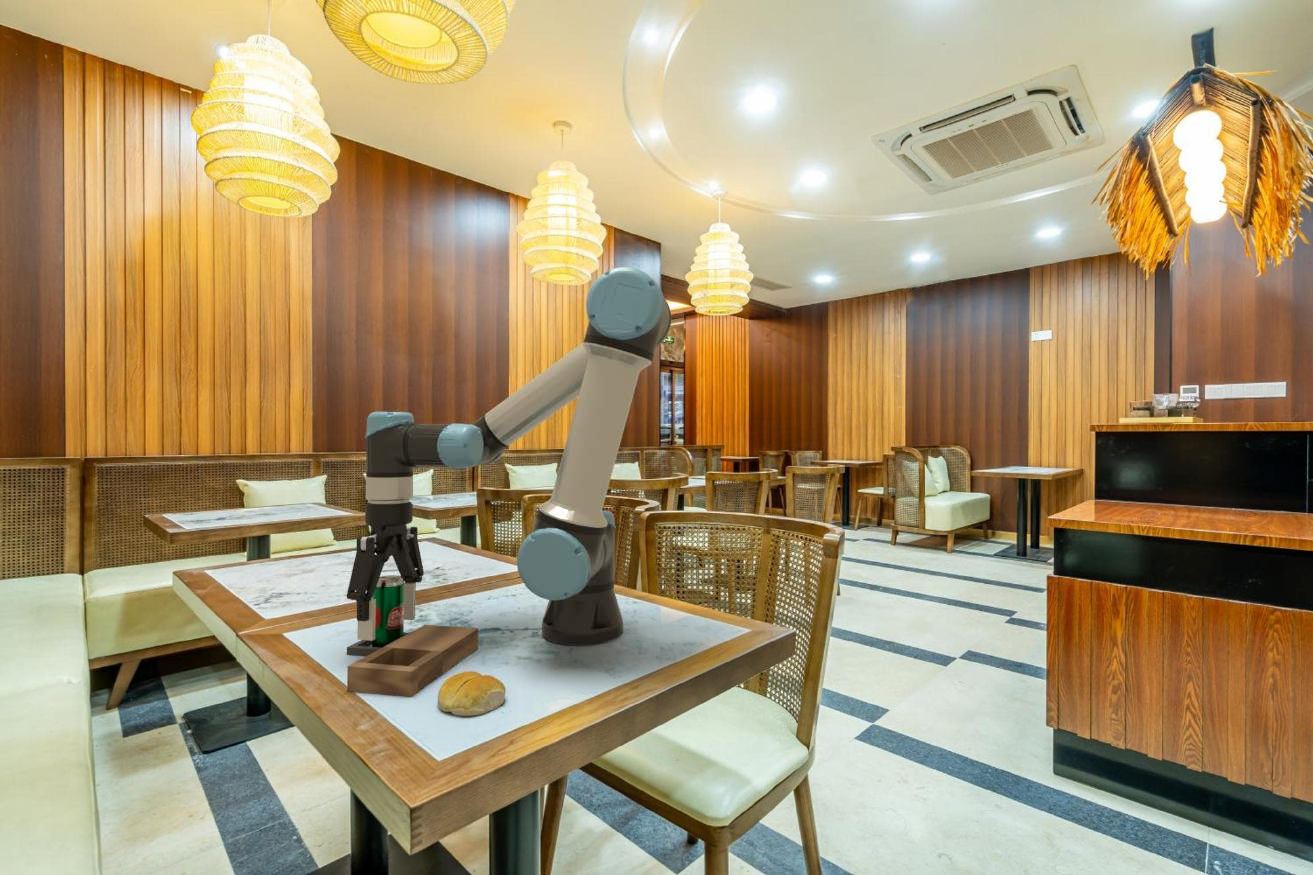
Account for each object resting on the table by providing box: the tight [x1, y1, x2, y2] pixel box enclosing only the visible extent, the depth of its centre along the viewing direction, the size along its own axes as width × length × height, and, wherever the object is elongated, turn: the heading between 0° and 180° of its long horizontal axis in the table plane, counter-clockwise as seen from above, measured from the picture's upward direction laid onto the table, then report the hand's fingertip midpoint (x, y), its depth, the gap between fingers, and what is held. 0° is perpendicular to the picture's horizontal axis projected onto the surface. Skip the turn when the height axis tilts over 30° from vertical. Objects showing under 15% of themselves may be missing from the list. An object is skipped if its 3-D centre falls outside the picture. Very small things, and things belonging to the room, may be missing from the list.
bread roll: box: [437, 670, 507, 717], centre depth 83 cm, size 8×9×4 cm
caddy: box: [346, 624, 479, 698], centre depth 95 cm, size 10×20×4 cm, turn 170°
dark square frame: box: [346, 632, 410, 657], centre depth 104 cm, size 9×9×1 cm
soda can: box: [371, 574, 405, 648], centre depth 104 cm, size 5×5×12 cm
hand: (387, 628), depth 104 cm, fingers open, 11 cm apart
